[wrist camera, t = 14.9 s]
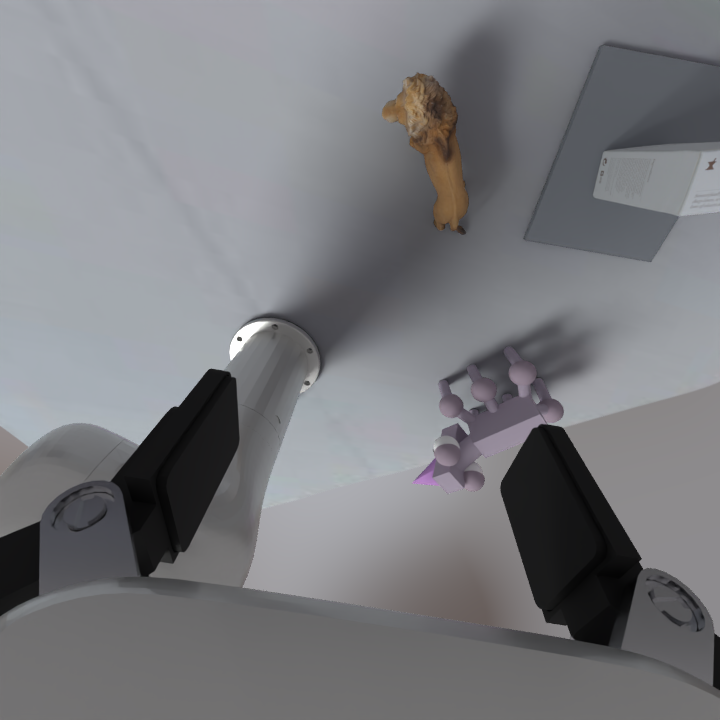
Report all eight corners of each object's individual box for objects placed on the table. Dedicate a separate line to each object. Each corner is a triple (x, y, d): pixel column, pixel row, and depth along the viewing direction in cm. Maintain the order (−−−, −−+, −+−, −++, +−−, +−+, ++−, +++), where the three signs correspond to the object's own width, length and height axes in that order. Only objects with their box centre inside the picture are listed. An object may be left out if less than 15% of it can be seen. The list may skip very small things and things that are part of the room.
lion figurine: (377, 107, 33) (374, 97, 25) (429, 69, 31) (441, 45, 23) (442, 244, 39) (454, 269, 31) (488, 219, 37) (513, 239, 30)
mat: (647, 260, 38) (650, 262, 38) (523, 238, 38) (525, 240, 37) (759, 76, 29) (765, 75, 29) (599, 46, 29) (603, 44, 29)
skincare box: (590, 199, 35) (673, 223, 25) (602, 147, 32) (699, 149, 22) (657, 192, 34) (771, 214, 24) (674, 138, 32) (808, 137, 21)
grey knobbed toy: (427, 445, 56) (434, 521, 44) (389, 400, 52) (385, 470, 40) (550, 388, 48) (598, 462, 36) (515, 331, 44) (556, 393, 33)
